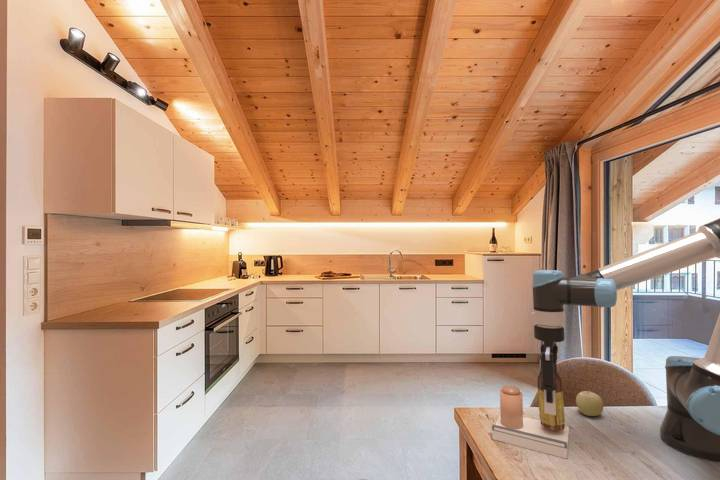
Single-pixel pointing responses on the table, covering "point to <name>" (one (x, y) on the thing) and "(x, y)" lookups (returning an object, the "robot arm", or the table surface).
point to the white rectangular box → (534, 437)
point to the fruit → (589, 403)
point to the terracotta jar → (511, 407)
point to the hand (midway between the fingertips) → (551, 408)
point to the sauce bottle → (556, 420)
